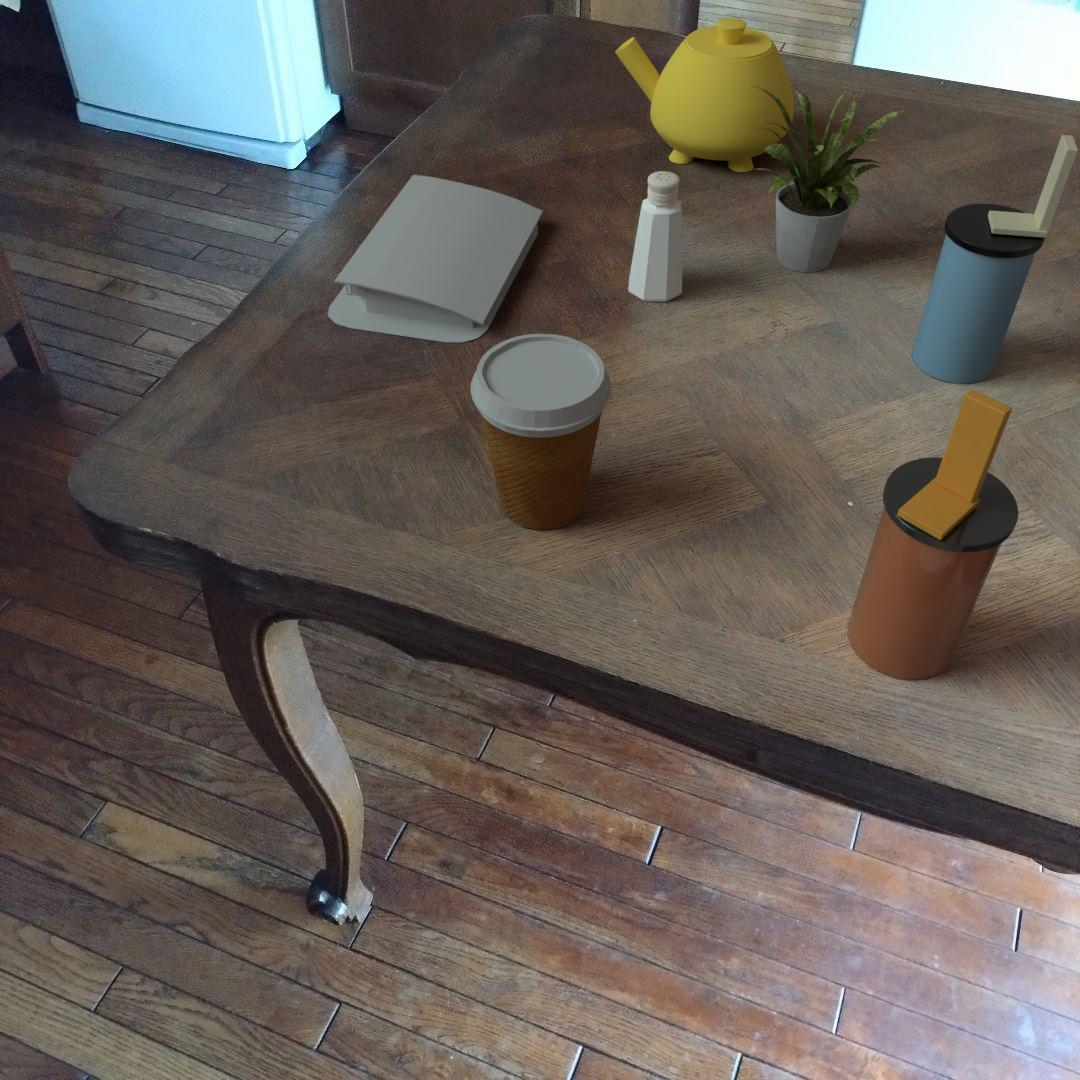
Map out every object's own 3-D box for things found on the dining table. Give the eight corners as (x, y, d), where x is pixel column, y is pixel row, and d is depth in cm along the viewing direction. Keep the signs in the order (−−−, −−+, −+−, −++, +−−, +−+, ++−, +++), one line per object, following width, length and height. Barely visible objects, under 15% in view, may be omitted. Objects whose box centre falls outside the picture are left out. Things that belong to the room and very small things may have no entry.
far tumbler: (991, 339, 93) (1038, 206, 84) (1002, 390, 88) (1053, 254, 79) (905, 331, 94) (942, 199, 85) (910, 381, 89) (951, 246, 80)
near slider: (935, 481, 62) (968, 385, 57) (979, 504, 60) (1016, 409, 55) (896, 515, 60) (927, 420, 55) (940, 540, 58) (976, 444, 53)
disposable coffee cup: (457, 526, 78) (445, 395, 69) (509, 447, 84) (503, 318, 75) (579, 560, 75) (582, 429, 66) (623, 476, 81) (631, 346, 73)
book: (317, 323, 96) (310, 285, 93) (405, 202, 112) (401, 167, 109) (479, 347, 93) (476, 309, 90) (545, 220, 109) (545, 184, 106)
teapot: (593, 164, 117) (597, 35, 108) (630, 107, 128) (636, -15, 118) (774, 190, 113) (794, 58, 103) (797, 129, 123) (817, 3, 113)
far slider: (1041, 220, 83) (1072, 133, 78) (1047, 238, 81) (1079, 151, 76) (987, 216, 83) (1014, 130, 78) (991, 233, 81) (1019, 147, 76)
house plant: (690, 267, 102) (707, 98, 90) (754, 208, 110) (777, 45, 98) (828, 313, 96) (866, 139, 85) (885, 247, 104) (927, 79, 93)
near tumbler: (883, 580, 73) (929, 439, 64) (980, 639, 70) (1043, 498, 61) (820, 638, 70) (859, 497, 61) (918, 703, 66) (976, 565, 57)
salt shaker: (640, 266, 102) (648, 157, 94) (693, 280, 100) (704, 170, 93) (616, 294, 99) (622, 183, 91) (670, 309, 97) (680, 197, 89)
